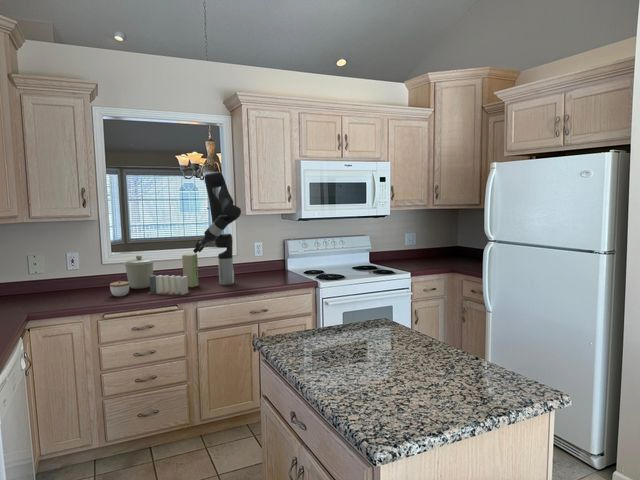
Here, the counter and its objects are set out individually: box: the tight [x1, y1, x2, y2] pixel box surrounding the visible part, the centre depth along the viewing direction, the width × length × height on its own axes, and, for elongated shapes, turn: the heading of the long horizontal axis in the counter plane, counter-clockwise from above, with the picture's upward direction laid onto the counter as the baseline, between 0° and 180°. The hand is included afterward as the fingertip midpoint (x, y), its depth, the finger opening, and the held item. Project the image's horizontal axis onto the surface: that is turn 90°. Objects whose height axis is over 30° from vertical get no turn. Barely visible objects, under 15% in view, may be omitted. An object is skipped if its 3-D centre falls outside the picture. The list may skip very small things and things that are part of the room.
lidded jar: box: [109, 279, 130, 297], centre depth 268 cm, size 11×11×9 cm
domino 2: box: [156, 274, 164, 293], centre depth 273 cm, size 2×5×10 cm, turn 165°
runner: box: [147, 291, 190, 296], centre depth 272 cm, size 24×9×1 cm, turn 75°
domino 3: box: [162, 274, 170, 293], centre depth 272 cm, size 2×5×10 cm, turn 165°
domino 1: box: [149, 274, 158, 293], centre depth 274 cm, size 2×5×10 cm, turn 165°
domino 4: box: [168, 275, 176, 294], centre depth 271 cm, size 2×5×10 cm, turn 165°
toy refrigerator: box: [181, 253, 199, 288], centre depth 290 cm, size 8×7×21 cm
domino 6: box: [180, 275, 189, 295], centre depth 269 cm, size 2×5×10 cm, turn 165°
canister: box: [123, 254, 155, 290], centre depth 290 cm, size 18×18×21 cm
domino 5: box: [174, 275, 182, 294], centre depth 270 cm, size 2×5×10 cm, turn 165°
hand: (196, 251), depth 264 cm, fingers open, 4 cm apart
